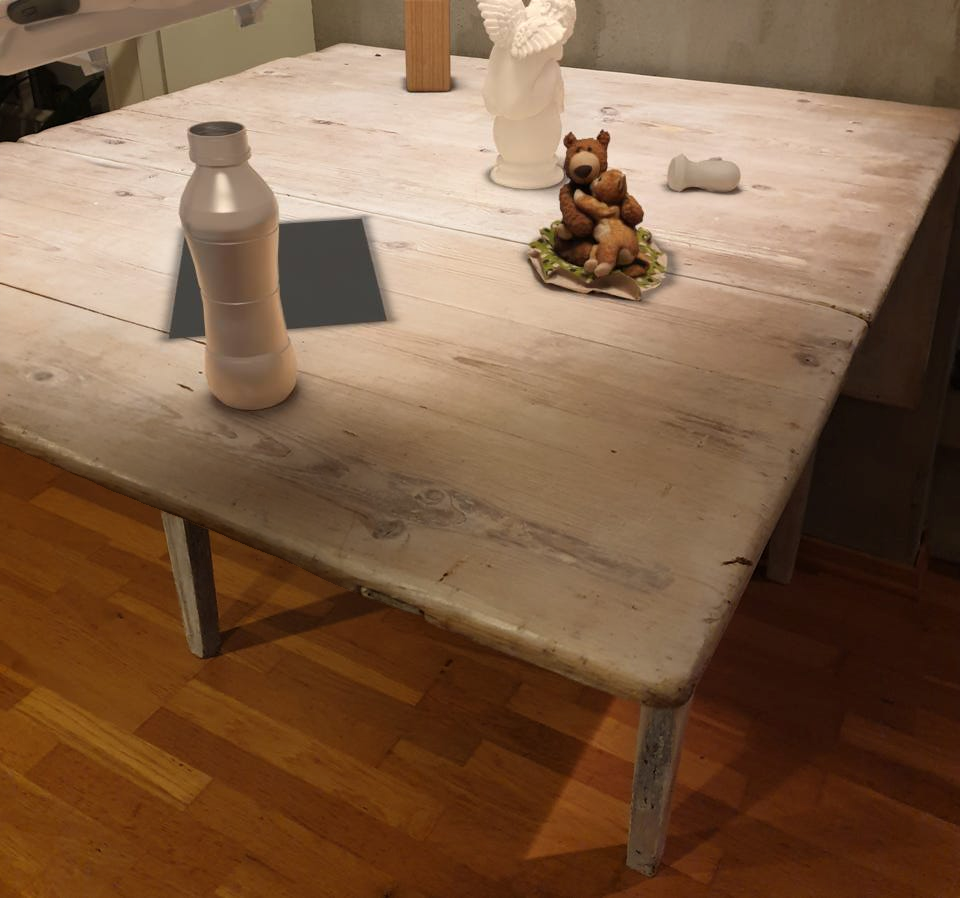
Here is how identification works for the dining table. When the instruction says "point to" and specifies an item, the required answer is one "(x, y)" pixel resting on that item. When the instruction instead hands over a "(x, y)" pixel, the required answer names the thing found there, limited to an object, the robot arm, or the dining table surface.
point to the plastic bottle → (237, 269)
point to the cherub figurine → (526, 87)
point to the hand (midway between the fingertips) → (170, 37)
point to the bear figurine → (597, 229)
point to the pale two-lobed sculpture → (702, 174)
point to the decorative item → (427, 45)
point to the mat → (302, 279)
